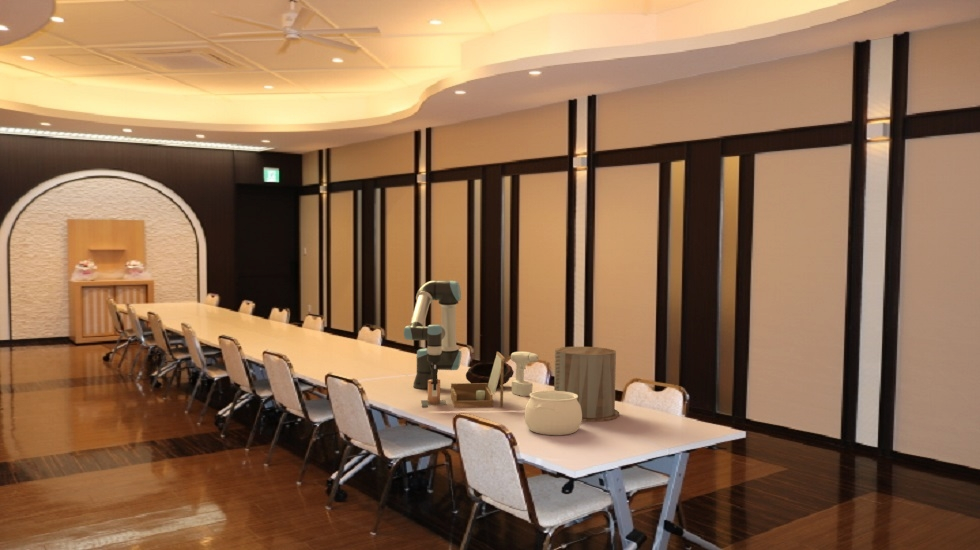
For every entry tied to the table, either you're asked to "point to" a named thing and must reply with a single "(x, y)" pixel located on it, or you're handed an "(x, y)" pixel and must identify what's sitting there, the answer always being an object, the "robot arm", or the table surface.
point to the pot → (553, 412)
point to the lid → (495, 373)
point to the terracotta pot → (431, 398)
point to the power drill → (522, 372)
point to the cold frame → (474, 393)
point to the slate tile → (425, 404)
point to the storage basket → (588, 380)
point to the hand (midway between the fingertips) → (433, 393)
